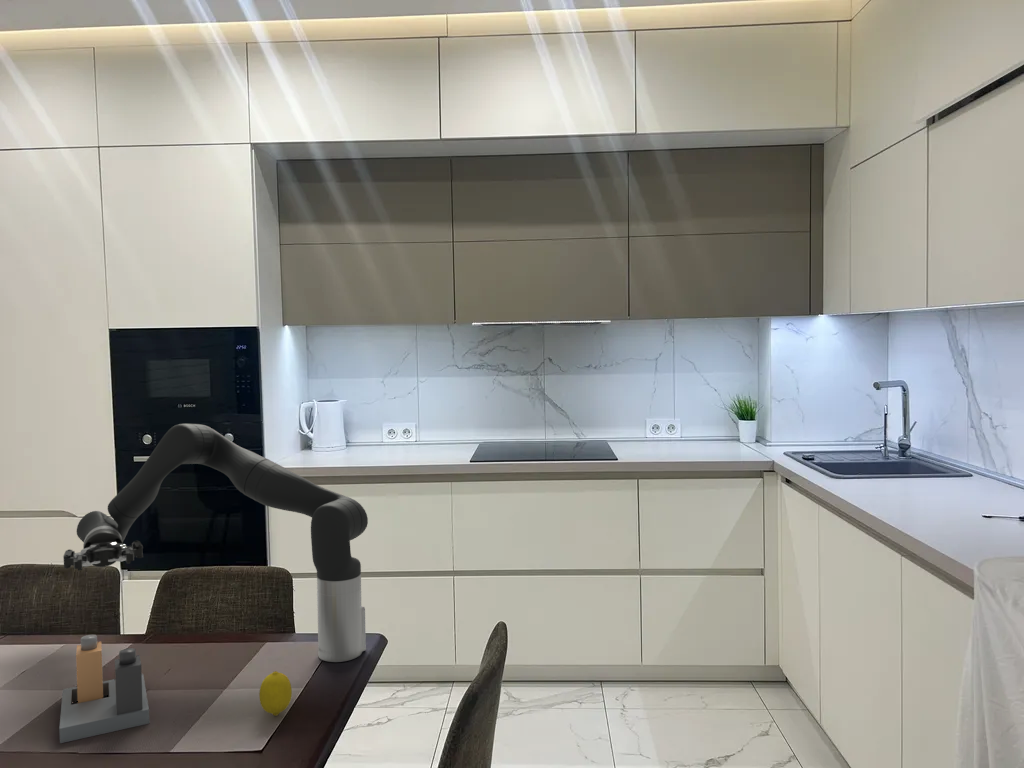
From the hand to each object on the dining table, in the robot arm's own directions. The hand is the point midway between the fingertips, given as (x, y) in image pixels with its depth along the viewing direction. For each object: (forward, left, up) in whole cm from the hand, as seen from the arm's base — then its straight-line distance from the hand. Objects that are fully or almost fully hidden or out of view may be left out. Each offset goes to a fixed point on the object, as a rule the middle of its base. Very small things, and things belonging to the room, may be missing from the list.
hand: (104, 561), depth 149 cm
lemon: (-10, +40, -24) cm, 48 cm away
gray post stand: (+7, +14, -24) cm, 28 cm away
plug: (+7, +9, -24) cm, 27 cm away
